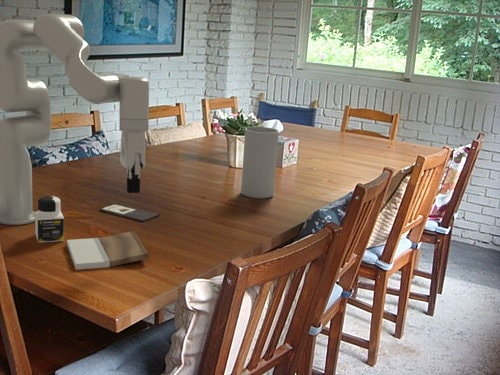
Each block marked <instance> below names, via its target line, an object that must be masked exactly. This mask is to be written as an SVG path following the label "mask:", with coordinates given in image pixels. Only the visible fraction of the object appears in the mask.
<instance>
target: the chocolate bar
mask: <svg viewBox="0 0 500 375" xmlns="http://www.w3.org/2000/svg"><path fill="white" fill-rule="evenodd" d="M98 211H99V212H102V213H106V214H109V215H112V216H117V217H120V216H121V218H124V217H125V218H124V219H128V218H129V219H128V220H132V221H136V220H137V222H139V223H144V222H147V220H148V221H150V220H153V219H156V218H157V217H160V216H161V214H160V213H157V212H152V211H148V210H145V209H139V208H136V207H133V206H128V205H123V204H120V203H114V204H112V205H110V206H109V205H108V206H105V207H103V208H99V210H98ZM155 217H156V218H155ZM152 218H153V219H152Z"/></svg>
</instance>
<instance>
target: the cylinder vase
mask: <svg viewBox="0 0 500 375" xmlns="http://www.w3.org/2000/svg"><path fill="white" fill-rule="evenodd" d="M279 132H280V131H279V129H276V128H273V127H268V126H267V127H266V126H265V127H264V126H248V127H247V126H246V127H245V128H244V139H243V141H244V142H243V156H242V169H241V183H240V193H241V195H243V196H244V197H247V198H251V199H260V200H261V199H268V198H271V197H273V196H274V193H275V192H274V191H275V182H276V169H277V159H278V158H277V156H278V147H279V146H278V143H279Z"/></svg>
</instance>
